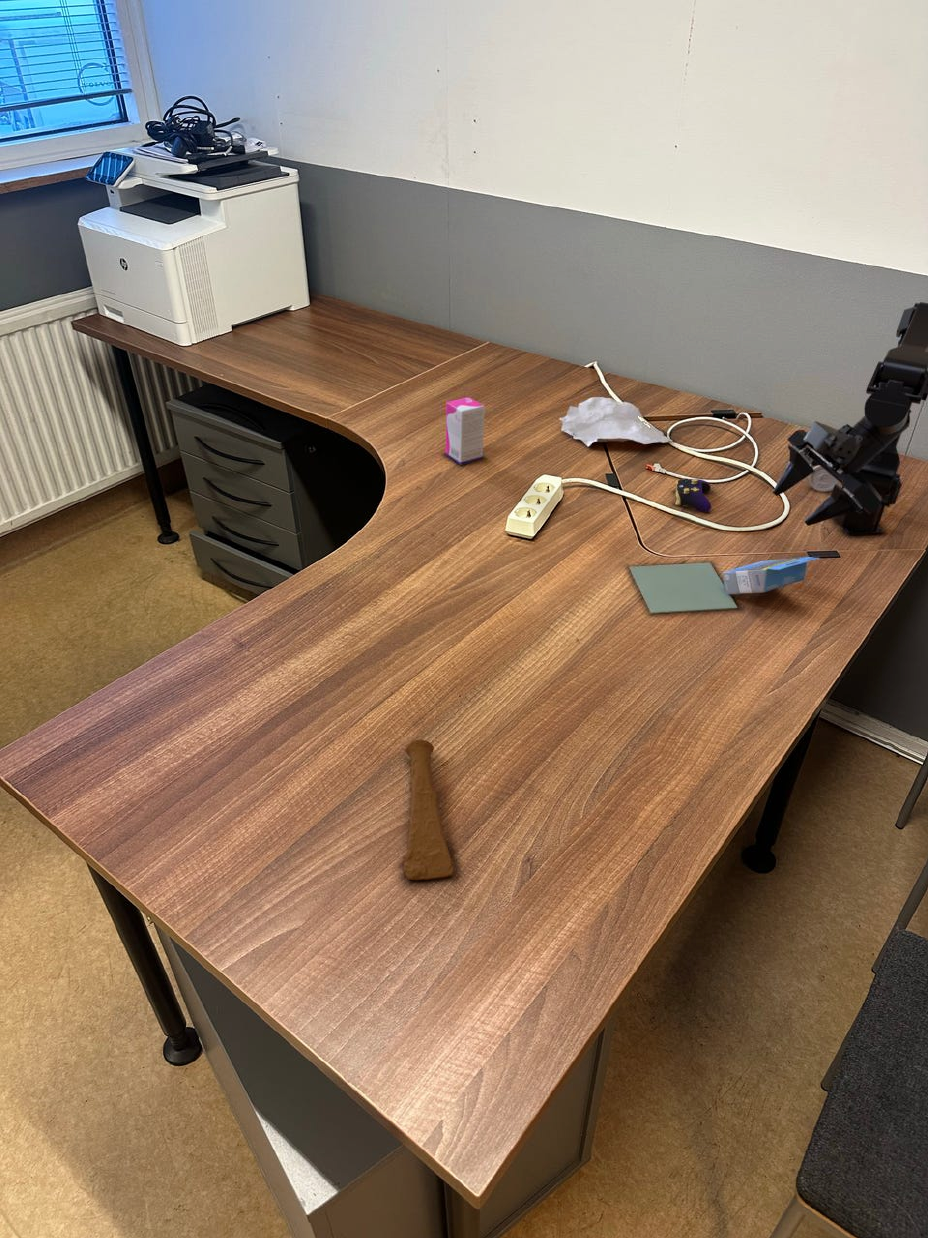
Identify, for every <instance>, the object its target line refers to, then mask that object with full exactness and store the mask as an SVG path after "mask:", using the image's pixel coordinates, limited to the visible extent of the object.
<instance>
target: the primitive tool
mask: <svg viewBox="0 0 928 1238" xmlns="http://www.w3.org/2000/svg"><path fill="white" fill-rule="evenodd" d="M404 751H405V753H406V755H407V756H408V757H409V758H410V763H411V764H410V767H409V769H410V774H411V797H410V800H411V801H410V810H409V811H410V812H409V815H410V817H409V828H408V833H409V834H408V838H407V849H406V853H405V854H404V855H402V859H403V861H404V863H403V864H404V865H403V871H404V873H405V877H406V879H407V880H409V881H422V880H426V881H427V880H434V879H441V878H447V877H452V876H453V875H454V866H453V862H452V858H451V854H450V852H449V851H450V850H449V848H448V845H447V842H446V839H445V835H444V831H443V823H442V817H441V815H440V811H439V806H438V795H437V793H436V791H435V783H434V780H433V773H432V767H431V756H432V754H434V751H435V747H434V745H433V744H432V742H430V741H429V740H425V739H414V740H412V741H410V742H409V743H408V744H406V747H405V749H404Z"/></svg>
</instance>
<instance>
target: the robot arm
mask: <svg viewBox="0 0 928 1238" xmlns="http://www.w3.org/2000/svg"><path fill="white" fill-rule="evenodd" d="M895 338H898V340H897V346H896V347H894V348H891V349H889V350H888V351H887V353H886V354H885V356H884V358H883V361H878V362H877V364H876V367H875V368H874V371H873V373H872V375H871V378H870V379H869V383H868V384H867V388H866V390H865V391H866V394H867V395H869V396H868V398H867V399H866V400H865V402H864V403H865V404H864V409H863V410H864V415H863V416H862V417H861V418H860V419H859V420H858V421H857V422H856V423H855V424H853V426H851V425H850V424H849V423H846V424H844V425H842V426H841V427H840V428H839V429H837V428H834V427H832V426H830V425H827V424H825V423H822V422H819V421H816V420H815V421H814V422H813V424H811V427H810V428H809V430H808V431H806V430H804V429H798V430H795V431H794V432H793V433H792V434H791V435H789V436H788V438H787V439H786V440H787V441H788V443H789V444H788V446H787V449H788V450H789V456H788V457H789V459H788V462H787V464H786V467H785V469H784V470H783V473H782V474H781V476H780V478H779V480H778V482H777V483H776V485H775V486H774V488H773V490H772V494H773V495H774V496H775V497H778V496H780V495H781V494H782V495H783V494H784V493H785V492H787V491H789V490H790V489H791V488H793V487H795V486H796V485H797V484H798V483H800V482H802V481H803V480H805V479H806V478H807V477H809V475H810V474H812V473H813V472H815V471H814V469H813V468H812V467H811V466H810V465H812V466H819V465H820V466H821V467H822V468H823V469H824V470H826V471H827V472H828V473H829V474H830V475H832V476H833V477H834V478H835V479H836V480H838V481H839V483H840V484H841V486H842V487H840V485H839V484H838V485H837V484H835V485H834V488H833V489H832V490H831V493H830V496H829V497H827V498H826V499H825V500H824V501H823V502H822V503H821V504H820V505H819V506H817V507H816V508H815V510H814V511H812V512H811V513H810V514H809V515H808V517H806V519H805V520H804V524H805V525H806V526H808V527H810V526H813V525H815V524H820V523H822V522H824V521H828V520H831V519H833V520H834V521H835V523H837V524H838V526H840V528H841V529H842V530H843V532H845V534H846V535H848V536H863V535H880V534H883V529H882V528H881V527H880V526H879V525H880V523H881V519H882V517H883V514H884V511H885V508H886V507H887V508H890V506H891V505H896V503H897V501H898V497H899V494H900V491H901V488H902V487H903V483H902V482H901V474H900V473H898V471H899V468H900V464H901V460H900V459H901V458H900V455H899V452H898V444H899V441H900V438H901V436H902V434H903V433H904V431H906V430H907V429H908V428H909V427H910V424H911V423H910V422H911V416H910V415H911V413H912V410H911V408H912V406H913V404H917V405H921V403H922V401H925V402H927V400H928V302H924V301H920V302H915V303H914V305H913V307H909V308H906V309H904V310H903V312H902V315H901V318H900V321H899V323H898V326H897V329H896V335H895ZM829 462H830V463H829ZM828 465H829V466H830V467H829V466H828ZM839 469H840V473H838V472H837V471H838V470H839Z"/></svg>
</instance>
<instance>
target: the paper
mask: <svg viewBox="0 0 928 1238" xmlns="http://www.w3.org/2000/svg"><path fill="white" fill-rule="evenodd" d="M567 410H568V411H567V413H566V415H564V416H563V417H559V418H558V419H559V421H561V422H562V425H561V428H560V430H561V431H562V432H564V433H567V434H568V435H570V436H573V439H574V440H580V441H581V442H582V443H583V444H584V445H585V446H587V447H588V448H589V447H590V446H591V445H592V443H607V442H612V443H613V442H617V443H618V442H619V443H625V442H629V441H634V442H637V443H640V444H643V445H648V444H653V443H662V444H664V443H668V442H673V440H672V439H670V438H668V437H666V436H665V434H664V432H663V431H661V430H659V429H657V428H656V427H654V426H653V425H652V424H651V423H648V422H646V421H645V420H644V421H640V419H639V418H638V416H639V417H641V418H643V419H644V416H643V415H642V413H641V412H640V410H639V408H638V407H637V406H635V405H634V404H633V403H630V402H628V401H624V402H620V401H617V400H615V399H613V398H610V397H603V396H593V397H589V398H588V399H586V400H584V401H582V402H579V403H578V406H571V405H570V406H569V408H568V409H567ZM644 423H645V424H647V423H648V425H649V426H650V429H651V430H650V429H649V427H648V426H647V425H645V424H644ZM654 432H655V433H654ZM658 435H659V436H658Z"/></svg>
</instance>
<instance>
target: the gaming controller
mask: <svg viewBox="0 0 928 1238" xmlns="http://www.w3.org/2000/svg"><path fill="white" fill-rule="evenodd" d="M675 486H676V489H675V497H676V501H675V503H674V504H675V505H676V506H680V507H684V506H687V507H691V508H692V509H694V510H697V511H699V512H702V513H708V512H710V511H711V510H712V504H711V502H710V500H709V499H708V498H707V497H706V495H705V494H704V493H708V492H710V490H711V484H710V483H709V482H708V481H706V480H703V479H700V478H699V479H698V478H683V479H679V480H677V481H676V482H675Z"/></svg>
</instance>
